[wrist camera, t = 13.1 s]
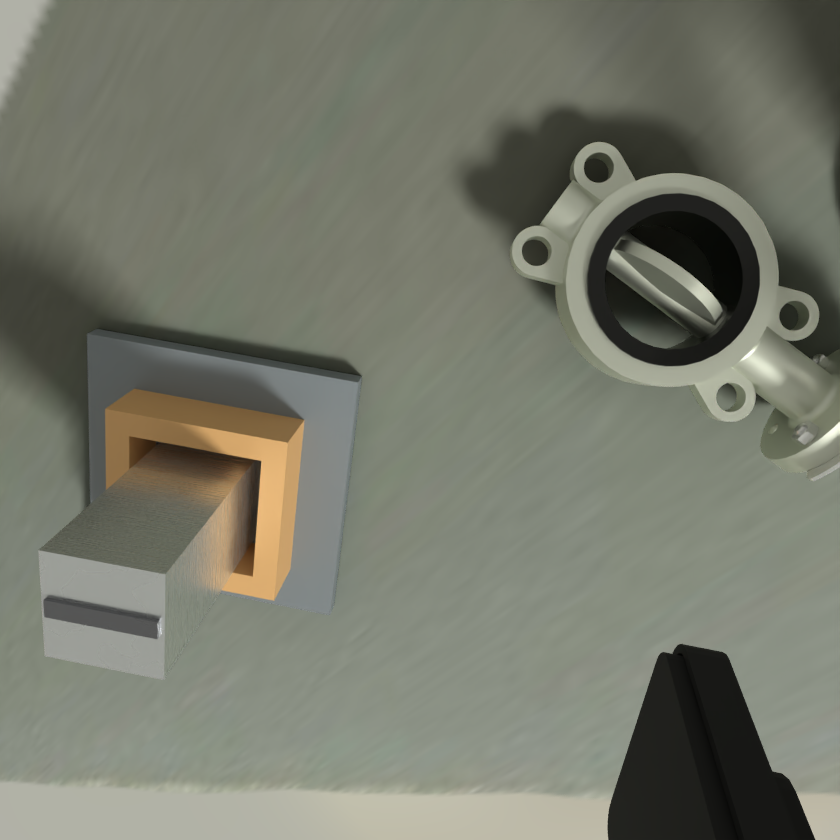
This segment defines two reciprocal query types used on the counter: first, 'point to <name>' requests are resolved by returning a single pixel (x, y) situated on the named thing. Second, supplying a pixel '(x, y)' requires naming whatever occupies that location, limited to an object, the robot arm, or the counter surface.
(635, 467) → the counter surface
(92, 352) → the collar plate
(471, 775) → the counter surface
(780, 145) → the counter surface
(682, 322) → the butterfly valve
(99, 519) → the block
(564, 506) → the counter surface
